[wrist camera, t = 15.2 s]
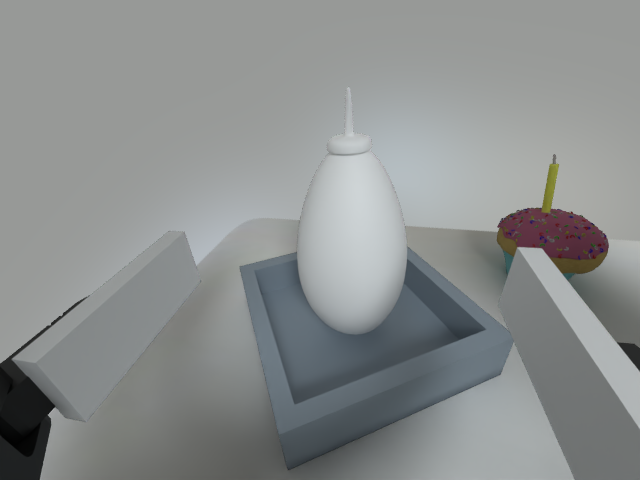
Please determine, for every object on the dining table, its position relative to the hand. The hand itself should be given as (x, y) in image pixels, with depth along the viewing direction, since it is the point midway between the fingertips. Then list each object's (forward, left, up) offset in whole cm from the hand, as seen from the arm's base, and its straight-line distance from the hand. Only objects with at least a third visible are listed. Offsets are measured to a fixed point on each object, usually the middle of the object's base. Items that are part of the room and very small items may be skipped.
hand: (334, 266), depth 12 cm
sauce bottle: (-4, -7, -12) cm, 15 cm away
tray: (-4, -7, -13) cm, 16 cm away
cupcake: (-24, -6, -13) cm, 28 cm away
